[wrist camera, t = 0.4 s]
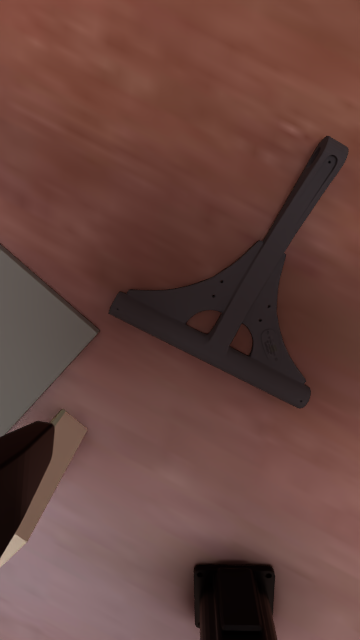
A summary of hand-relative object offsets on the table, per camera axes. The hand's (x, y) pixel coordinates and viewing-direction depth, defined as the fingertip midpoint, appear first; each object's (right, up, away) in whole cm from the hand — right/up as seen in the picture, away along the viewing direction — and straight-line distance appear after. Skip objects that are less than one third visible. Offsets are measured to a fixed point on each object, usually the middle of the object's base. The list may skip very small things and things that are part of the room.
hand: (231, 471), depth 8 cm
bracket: (+4, +7, +13) cm, 16 cm away
